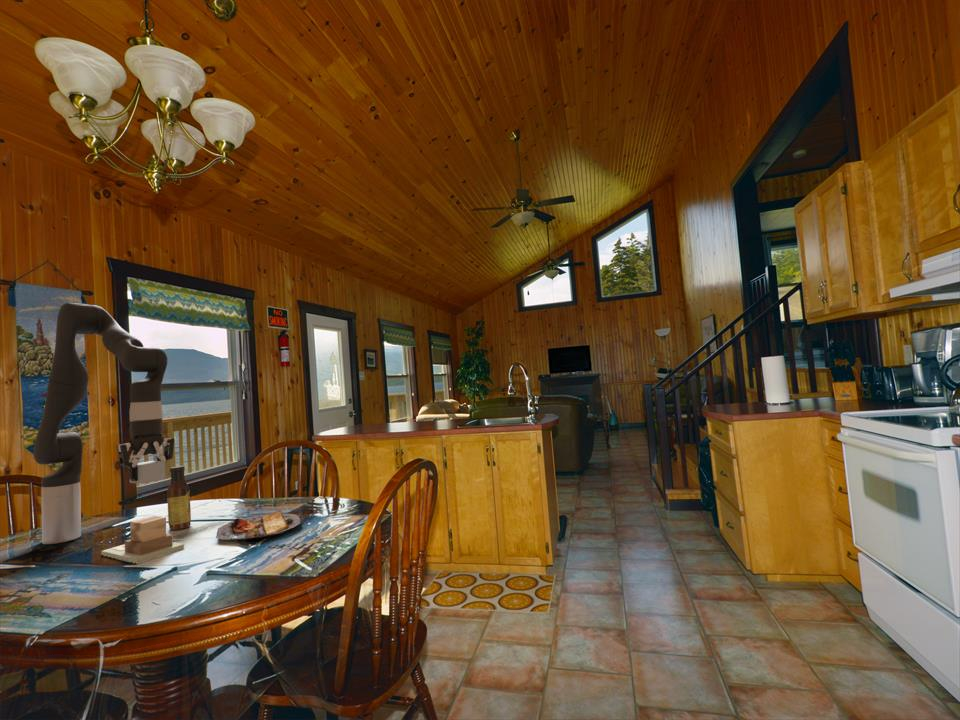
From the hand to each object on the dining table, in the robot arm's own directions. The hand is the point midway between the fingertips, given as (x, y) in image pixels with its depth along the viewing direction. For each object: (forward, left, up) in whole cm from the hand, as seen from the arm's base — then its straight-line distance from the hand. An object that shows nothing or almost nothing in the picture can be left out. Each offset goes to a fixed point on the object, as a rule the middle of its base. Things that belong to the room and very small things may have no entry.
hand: (147, 478), depth 132 cm
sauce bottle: (-17, +18, -21) cm, 32 cm away
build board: (-3, 0, -21) cm, 21 cm away
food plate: (+13, +25, -21) cm, 35 cm away
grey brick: (0, 0, -1) cm, 1 cm away
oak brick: (0, 0, -16) cm, 16 cm away
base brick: (0, 0, -19) cm, 19 cm away
